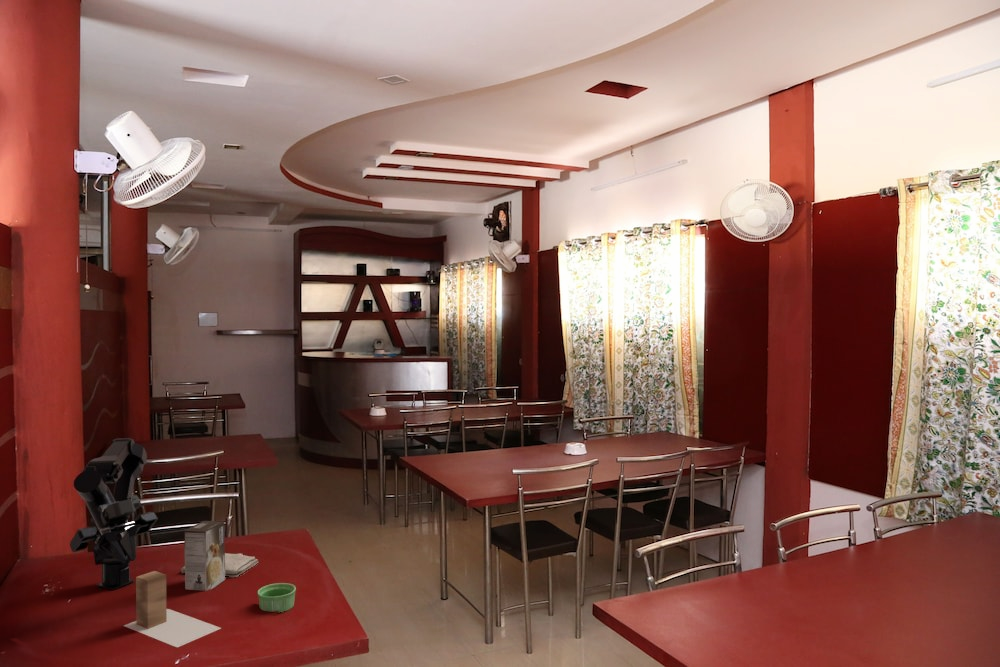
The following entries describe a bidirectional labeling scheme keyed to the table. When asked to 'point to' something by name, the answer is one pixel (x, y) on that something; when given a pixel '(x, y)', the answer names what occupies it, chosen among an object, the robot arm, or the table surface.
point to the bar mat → (176, 629)
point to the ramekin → (276, 597)
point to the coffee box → (204, 555)
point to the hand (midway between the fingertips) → (129, 560)
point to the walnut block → (151, 599)
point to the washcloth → (236, 564)
